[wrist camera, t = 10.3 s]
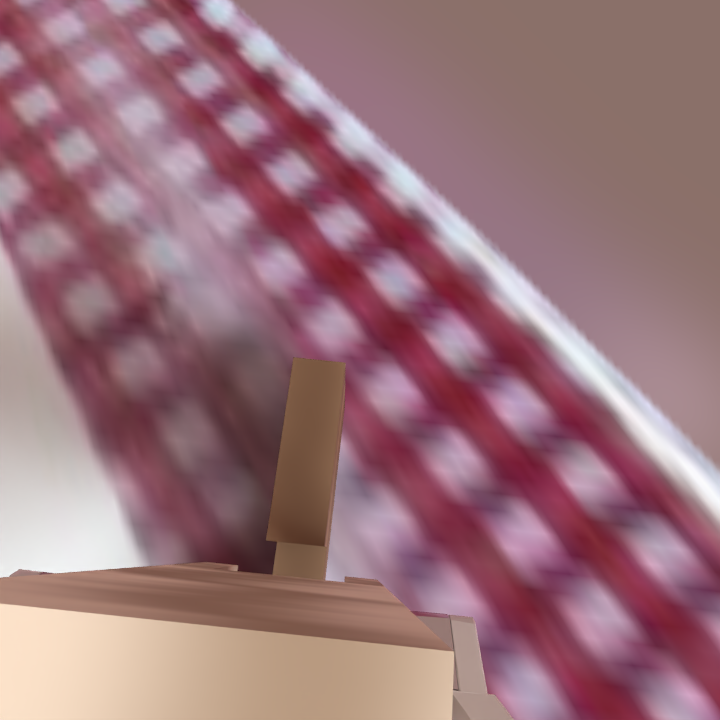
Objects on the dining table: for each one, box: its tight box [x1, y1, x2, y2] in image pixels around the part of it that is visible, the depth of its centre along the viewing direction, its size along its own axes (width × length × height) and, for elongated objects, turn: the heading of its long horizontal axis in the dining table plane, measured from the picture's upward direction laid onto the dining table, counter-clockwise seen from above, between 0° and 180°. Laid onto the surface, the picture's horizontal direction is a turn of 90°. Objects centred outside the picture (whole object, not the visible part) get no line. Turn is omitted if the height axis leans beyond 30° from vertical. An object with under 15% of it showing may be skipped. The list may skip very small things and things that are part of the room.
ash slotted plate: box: [0, 562, 454, 720], centre depth 12 cm, size 6×2×15 cm, turn 84°
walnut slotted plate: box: [266, 357, 345, 580], centre depth 25 cm, size 2×20×8 cm, turn 174°
